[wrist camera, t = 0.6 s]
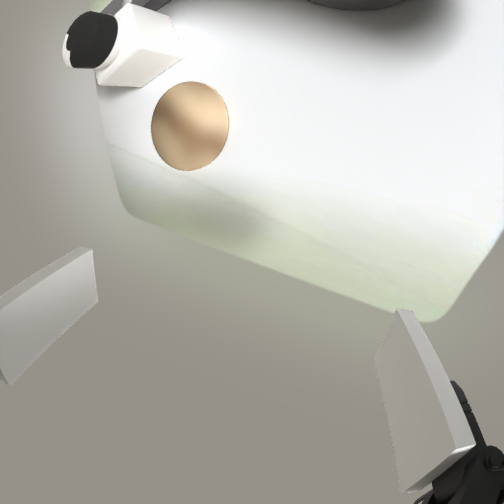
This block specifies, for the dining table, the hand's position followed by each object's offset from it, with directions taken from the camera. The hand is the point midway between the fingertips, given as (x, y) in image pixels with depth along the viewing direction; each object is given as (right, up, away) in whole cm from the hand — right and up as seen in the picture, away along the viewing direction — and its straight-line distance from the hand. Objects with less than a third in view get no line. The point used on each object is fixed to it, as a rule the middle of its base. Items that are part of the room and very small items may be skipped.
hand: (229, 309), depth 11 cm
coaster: (-6, +16, +17) cm, 24 cm away
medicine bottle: (-10, +26, +15) cm, 32 cm away
